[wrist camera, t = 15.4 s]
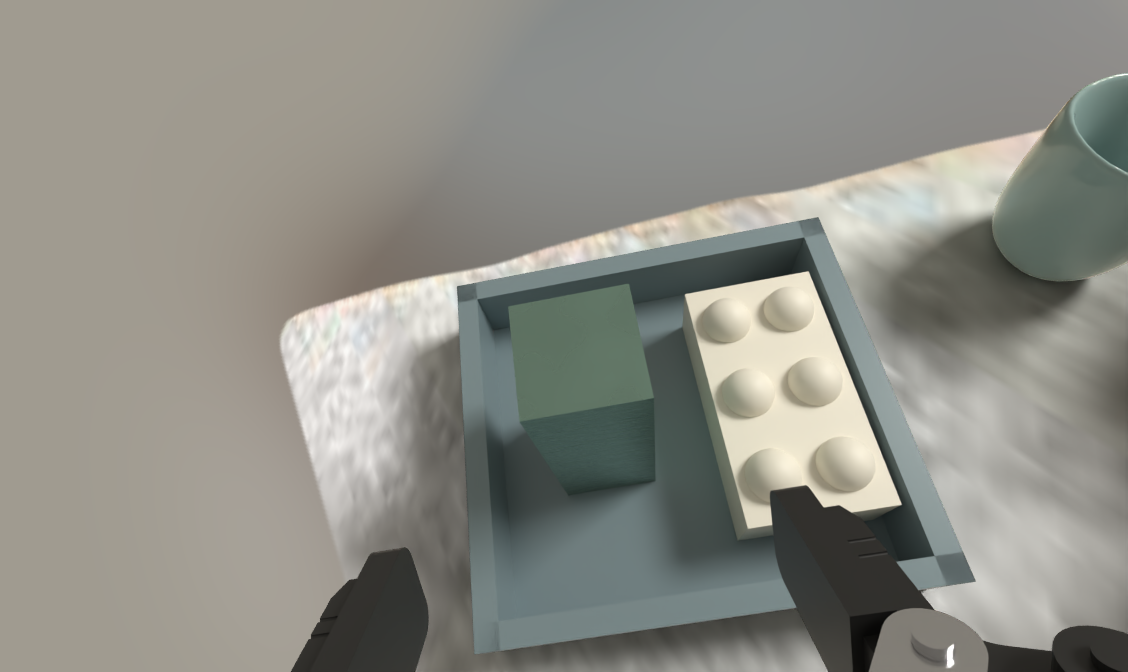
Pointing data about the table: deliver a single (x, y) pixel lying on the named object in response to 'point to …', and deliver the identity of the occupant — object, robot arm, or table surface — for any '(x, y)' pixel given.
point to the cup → (1071, 191)
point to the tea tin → (585, 388)
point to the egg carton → (781, 402)
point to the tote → (657, 462)
